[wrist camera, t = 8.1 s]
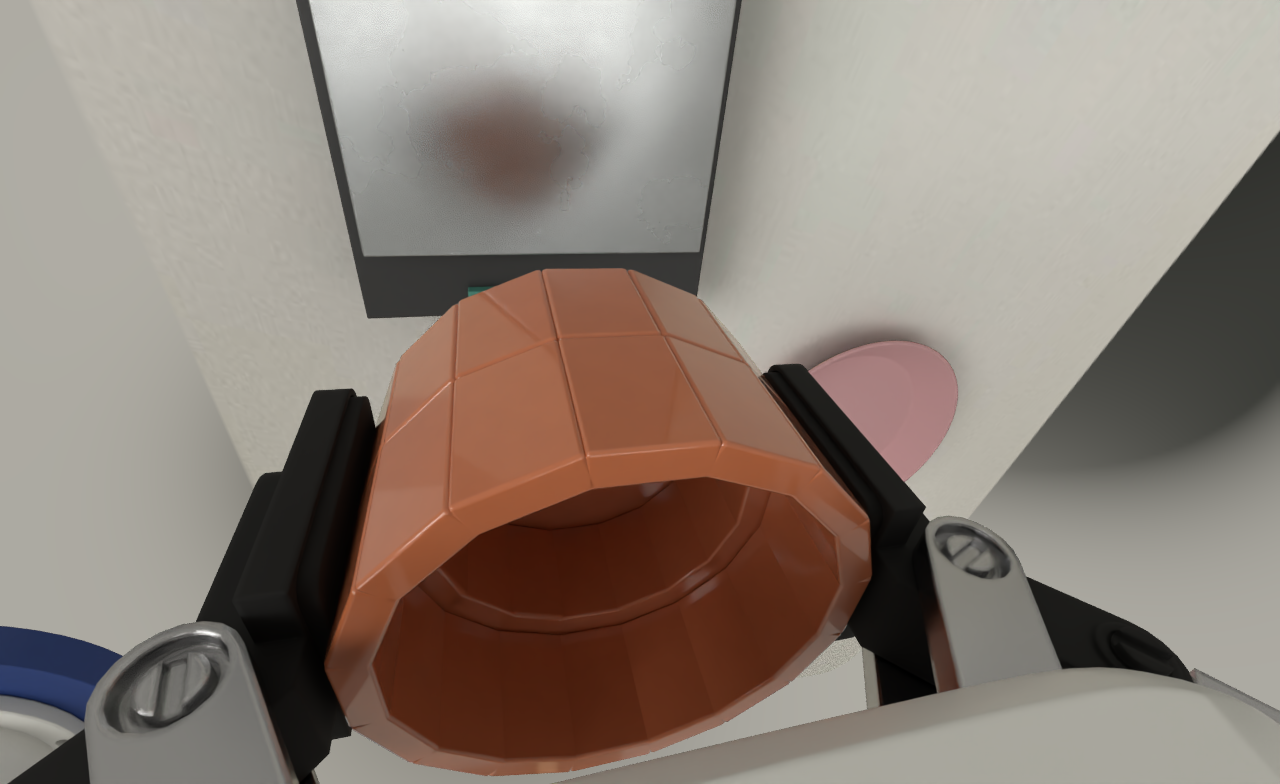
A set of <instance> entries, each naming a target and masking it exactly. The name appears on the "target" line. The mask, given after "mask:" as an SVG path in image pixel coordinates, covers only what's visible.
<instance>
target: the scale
mask: <svg viewBox="0 0 1280 784" xmlns="http://www.w3.org/2000/svg"><path fill="white" fill-rule="evenodd" d="M741 1H742V0H296V3H297V7H298V11H299V16H300V20H301V25H302V29H303V34H304V38H305V42H306V47H307V51H308V56H309V60H310V65H311V69H312V74H313V78H314V82H315V87H316V91H317V96H318V100H319V105H320V109H321V114H322V118H323V122H324V127H325V131H326V136H327V140H328V145H329V149H330V153H331V158H332V162H333V167H334V171H335V176H336V180H337V185H338V189H339V193H340V198H341V202H342V207H343V211H344V216H345V220H346V225H347V229H348V233H349V238H350V242H351V247H352V251H353V256H354V260H355V264H356V269H357V273H358V278H359V282H360V287H361V291H362V296H363V300H364V304H365V309H366V313H367V317H368V318H394V317H420V316H443V315H444V314H445V313H446V312H447V311H448V310H449V309H450V308H451V307H452V306H453V305H455V304H458V302H459V301H461V300H462V299H465V298H467V297H470V296H472V295H475V294H477V293H480V292H482V291H485V290H488V289H490V288H493V287H495V286H498V285H500V284H503V283H505V282H508V281H510V280H513V279H515V278H518V277H520V276H523V275H525V274H528V273H531V272H533V271H536V270H540V271H541V272H542V271H543V270H544V269H598V268H623V269H626V270H627V271H628V270H634V271H637V272H639V273H642V274H644V275H647V276H649V277H652V278H654V279H656V280H659V281H661V282H664V283H666V284H669V285H671V286H674V287H676V288H678V289H681V290H683V291H686V292H688V293H691V294H693V295H695V296H696V297H697V291H698V285H699V278H700V271H701V265H702V258H703V252H704V245H705V239H706V232H707V225H708V219H709V212H710V206H711V199H712V192H713V186H714V179H715V173H716V166H717V159H718V153H719V146H720V140H721V133H722V127H723V120H724V113H725V107H726V100H727V94H728V87H729V80H730V74H731V67H732V61H733V54H734V48H735V41H736V34H737V28H738V21H739V15H740V8H741Z"/></svg>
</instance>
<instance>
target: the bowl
mask: <svg viewBox="0 0 1280 784" xmlns="http://www.w3.org/2000/svg"><path fill="white" fill-rule="evenodd" d="M871 576H872V556H871V534H870V520H869V518H868V515H867V513H866V511H865V510H864V509H863V507H862V506H861V505H860V503H859V502H858V501H857V499H856V498H855V497H854V495H853V494H852V493H851V491H850V490H849V489H848V487H847V486H846V485H845V483H844V482H843V481H842V479H841V478H840V477H839V475H838V474H837V473H836V471H835V470H834V469H833V467H832V466H831V465H830V463H829V462H828V461H827V459H826V458H825V457H824V455H823V454H822V453H821V451H820V450H819V449H818V447H817V446H816V445H815V443H814V442H813V441H812V439H811V438H810V437H809V435H808V434H807V433H806V431H805V430H804V429H803V427H802V426H801V425H800V423H799V422H798V420H797V419H796V418H795V416H794V415H793V414H792V413H791V412H790V410H789V409H788V408H787V406H786V405H785V403H784V402H783V401H782V399H781V398H780V397H779V395H778V394H777V393H776V391H775V390H774V389H773V387H772V386H771V384H770V383H769V382H768V380H767V379H766V378H765V376H764V375H763V374H762V372H761V371H760V370H759V368H758V367H757V366H756V364H755V363H754V362H753V360H752V359H751V358H750V356H749V355H748V354H747V352H746V351H745V350H744V348H743V347H742V346H741V344H740V343H739V342H738V341H737V339H736V338H735V337H734V336H733V335H732V334H731V333H730V331H729V330H728V329H727V328H726V327H725V326H724V325H723V324H722V322H721V321H720V320H719V319H718V318H717V317H716V316H715V314H714V313H713V312H712V311H711V310H710V309H709V308H708V306H707V305H706V304H705V303H704V302H703V301H702V300H701V299H698V298H697V297H696V296H695V295H693V294H691V293H688V292H686V291H683V290H681V289H678V288H676V287H674V286H671V285H669V284H666V283H664V282H661V281H659V280H656V279H654V278H652V277H649V276H647V275H644V274H642V273H639V272H637V271H634V270H628V271H627V270H626V269H623V268H598V269H544V270H543V271H542V272H541V271H540V270H536V271H533V272H531V273H528V274H525V275H523V276H520V277H518V278H515V279H513V280H510V281H508V282H505V283H503V284H500V285H498V286H495V287H493V288H490V289H488V290H485V291H482V292H480V293H477V294H475V295H472V296H470V297H467V298H465V299H462V300H461V301H459V302H458V304H455V305H453V306H452V307H451V308H450V309H449V310H448V311H447V312H446V313H445V314H444V315H443V316H442V317H441V318H440V319H439V320H438V321H437V322H436V323H435V324H434V325H433V326H432V327H430V328H429V329H428V330H427V331H426V332H425V333H424V334H423V335H422V336H421V337H420V338H419V339H418V340H417V341H416V342H415V343H414V344H413V345H412V346H411V347H410V348H409V349H408V350H407V351H406V352H405V353H404V354H403V355H402V356H401V358H400V360H399V361H398V362H397V363H396V366H395V369H394V372H393V375H392V378H391V381H390V384H389V387H388V390H387V393H386V396H385V399H384V402H383V405H382V408H381V411H380V414H379V417H378V420H377V424H376V429H375V433H374V438H373V442H372V447H371V451H370V456H369V460H368V465H367V469H366V474H365V478H364V483H363V488H362V492H361V497H360V501H359V506H358V513H357V516H356V519H355V523H354V528H353V532H352V537H351V541H350V546H349V550H348V555H347V560H346V564H345V569H344V573H343V578H342V582H341V587H340V591H339V596H338V600H337V605H336V609H335V614H334V619H333V623H332V628H331V632H330V637H329V641H328V646H327V650H326V655H325V659H324V664H325V666H324V670H325V673H326V675H327V677H328V680H329V682H330V684H331V686H332V689H333V691H334V693H335V696H336V698H337V700H338V702H339V705H340V707H341V709H342V711H343V714H344V716H345V718H346V721H347V723H348V725H349V726H350V727H352V729H353V730H354V731H355V732H357V733H359V734H361V735H362V736H364V737H366V738H367V739H369V740H371V741H373V742H374V743H377V744H378V745H380V746H381V747H383V748H385V749H387V750H388V751H390V752H392V753H393V754H395V755H397V756H399V757H401V758H402V759H404V760H406V761H407V762H413V763H414V764H418V765H423V766H430V767H435V768H441V769H447V770H453V771H459V772H465V773H471V774H476V775H482V776H488V775H490V776H504V775H521V774H540V773H557V772H569V771H570V770H571V771H576V770H580V769H585V768H589V767H593V766H598V765H602V764H606V763H611V762H615V761H619V760H624V759H628V758H632V757H636V756H641V755H645V754H648V753H650V751H651V752H655V751H657V750H660V749H662V748H665V747H667V746H670V745H672V744H674V743H677V742H680V741H682V740H684V739H687V738H690V737H692V736H695V735H697V734H699V733H702V732H704V731H707V730H709V729H712V728H714V727H717V726H719V725H721V724H723V723H724V722H728V721H729V720H731V719H733V718H734V717H736V716H737V715H739V714H741V713H742V712H744V711H745V710H747V709H749V708H750V707H752V706H754V705H755V704H757V703H759V702H760V701H762V700H763V699H765V698H767V697H768V696H770V695H771V694H773V693H775V692H776V691H778V690H780V689H781V688H783V687H784V686H786V685H787V684H789V683H790V682H791V681H793V680H794V679H795V678H796V677H797V676H798V675H799V674H800V673H802V672H803V671H804V670H805V669H806V668H807V667H808V666H809V665H810V664H811V663H812V662H813V661H814V660H815V659H816V658H817V657H818V656H819V655H820V654H821V653H822V652H823V651H824V650H825V649H827V648H828V647H829V646H830V645H831V644H832V643H833V642H834V641H835V640H836V639H837V638H838V637H839V636H840V635H841V632H843V631H844V630H845V628H846V626H847V624H848V622H849V620H850V618H851V616H852V615H853V613H854V611H855V609H856V607H857V605H858V603H859V601H860V599H861V598H862V596H863V594H864V592H865V590H866V588H867V586H868V584H869V583H870V581H871Z"/></svg>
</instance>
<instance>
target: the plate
mask: <svg viewBox="0 0 1280 784" xmlns="http://www.w3.org/2000/svg"><path fill="white" fill-rule="evenodd" d="M808 372H809V373H810V374H811V375H812V376H813V377H814V379H815V380H816V381H817V382H818V383H819V384H820V386H821V387H822V388H823V389H824V390H825V391H826V392H827V394H828V395H829V396H830V397H831V398H832V399H833V401H834V402H835V403H836V404H837V405H838V406H839V407H840V409H841V410H842V411H843V412H844V413H845V414H846V415H847V417H848V418H849V419H850V420H851V421H852V422H853V424H854V425H855V426H856V427H857V428H858V429H859V430H860V432H861V433H862V434H863V435H864V436H865V437H866V439H867V440H868V441H869V442H870V443H871V444H872V445H873V447H874V448H875V449H876V450H877V451H878V452H879V453H880V455H881V456H882V457H883V458H884V459H885V460H886V462H887V463H888V464H889V465H890V466H891V467H892V468H893V470H894V471H895V472H896V473H897V474H898V475H899V477H900V478H901V479H902V480H903V481H904V482H905V481H906V480H908V479H909V478H910V477H911V476H912V475H913V474H914V473H916V472H917V471H918V470H919V469H920V468H921V467H922V466H923V465H924V463H925V462H926V461H927V460H928V459H929V458H930V457H931V455H932V454H933V453H934V452H935V450H936V449H937V448H938V446H939V445H940V443H941V442H942V440H943V438H944V437H945V435H946V433H947V431H948V429H949V427H950V425H951V422H952V420H953V417H954V414H955V411H956V406H957V400H958V386H957V380H956V376H955V374H954V371H953V369H952V367H951V366H950V364H949V363H948V361H947V360H946V359H945V358H944V357H943V356H942V355H941V354H940V353H938V352H937V351H935V350H933V349H932V348H930V347H927V346H925V345H922V344H919V343H915V342H909V341H882V342H876V343H871V344H866V345H862V346H859V347H856V348H853V349H850V350H847V351H845V352H842V353H840V354H838V355H835V356H833V357H831V358H829V359H827V360H826V361H824V362H822V363H820V364H819V365H817V366H815V367H814V368H812V369H811V370H809V371H808Z"/></svg>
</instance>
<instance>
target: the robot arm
mask: <svg viewBox="0 0 1280 784" xmlns="http://www.w3.org/2000/svg"><path fill="white" fill-rule="evenodd" d="M763 375H764V376H765V378H766V379H767V380H768V382H769V383H770V384H771V386H772V387H773V389H774V390H775V391H776V393H777V394H778V395H779V397H780V398H781V399H782V401H783V402H784V403H785V405H786V406H787V408H788V409H789V410H790V412H791V413H792V414H793V415H794V416H795V418H796V419H797V420H798V422H799V423H800V425H801V426H802V427H803V429H804V430H805V431H806V433H807V434H808V435H809V437H810V438H811V439H812V441H813V442H814V443H815V445H816V446H817V447H818V449H819V450H820V451H821V453H822V454H823V455H824V457H825V458H826V459H827V461H828V462H829V463H830V465H831V466H832V467H833V469H834V470H835V471H836V473H837V474H838V475H839V477H840V478H841V479H842V481H843V482H844V483H845V485H846V486H847V487H848V489H849V490H850V491H851V493H852V494H853V495H854V497H855V498H856V499H857V501H858V502H859V503H860V505H861V506H862V507H863V509H864V510H865V511H866V513H867V515H868V518H869V520H870V534H871V556H872V576H871V581H870V583H869V584H868V586H867V588H866V590H865V592H864V594H863V596H862V598H861V599H860V601H859V603H858V605H857V607H856V609H855V611H854V613H853V615H852V616H851V618H850V620H849V622H848V624H847V626H846V628H845V630H844V631H843V632H841V635H840V636H839V637H838V638H837V639H836V640H835V641H837V640H842V639H847V638H852V637H854V636H855V637H856V639H857V640H858V642H859V644H860V646H861V647H862V655H863V667H864V678H865V690H866V702H867V710H863V711H859V712H854V713H850V714H845V715H841V716H837V717H832V718H828V719H824V720H819V721H815V722H811V723H807V724H802V725H798V726H793V727H789V728H785V729H781V730H776V731H772V732H768V733H764V734H759V735H755V736H751V737H747V738H742V739H738V740H734V741H729V742H725V743H721V744H717V745H713V746H709V747H704V748H700V749H696V750H692V751H687V752H683V753H679V754H674V755H670V756H666V757H662V758H657V759H653V760H650V761H645V762H641V763H636V764H632V765H628V766H623V767H619V768H615V769H611V770H606V771H602V772H599V773H594V774H590V775H586V776H581V777H577V778H573V779H570V780H565V781H561V782H557V783H552V784H1280V711H1279V710H1277V709H1275V708H1273V707H1271V706H1269V705H1267V704H1265V703H1263V702H1261V701H1259V700H1257V699H1255V698H1253V697H1251V696H1249V695H1247V694H1245V693H1243V692H1241V691H1239V690H1237V689H1235V688H1233V687H1231V686H1229V685H1227V684H1225V683H1223V682H1221V681H1219V680H1217V679H1215V678H1213V677H1211V676H1209V675H1207V674H1205V673H1203V672H1201V671H1199V670H1197V669H1195V668H1194V669H1193V670H1192V671H1191V672H1189V671H1188V669H1186V667H1185V666H1184V664H1183V663H1182V662H1181V660H1180V659H1179V658H1178V656H1177V655H1175V654H1174V653H1173V652H1172V651H1171V650H1170V649H1169V648H1168V647H1167V646H1166V645H1165V644H1164V643H1163V642H1162V641H1160V640H1159V639H1157V638H1156V637H1155V636H1153V635H1152V634H1150V633H1149V632H1148V631H1146V630H1144V629H1142V628H1140V627H1138V626H1137V625H1135V624H1132V623H1131V622H1129V621H1127V620H1124V619H1122V618H1120V617H1117V616H1115V615H1113V614H1111V613H1108V612H1106V611H1104V610H1101V609H1099V608H1097V607H1095V606H1092V605H1090V604H1088V603H1085V602H1083V601H1081V600H1079V599H1076V598H1074V597H1072V596H1070V595H1067V594H1065V593H1063V592H1060V591H1058V590H1056V589H1054V588H1051V587H1049V586H1047V585H1044V584H1042V583H1040V582H1038V581H1035V580H1033V579H1031V578H1029V577H1026V576H1025V573H1024V571H1023V568H1022V566H1021V563H1020V561H1019V559H1018V557H1017V556H1016V554H1015V552H1014V550H1013V549H1012V548H1011V547H1010V546H1009V545H1008V544H1007V543H1006V542H1005V541H1004V540H1003V539H1002V538H1001V537H999V536H998V535H997V534H995V533H994V532H993V531H991V530H990V529H988V528H986V527H984V526H982V525H981V524H978V523H977V522H974V521H971V520H968V519H965V518H962V517H954V516H943V517H937V518H935V519H934V520H932V521H929V520H928V519H927V518H926V517H925V515H924V514H923V512H924V510H925V508H926V506H925V505H924V504H923V503H922V502H921V501H920V500H919V498H918V497H917V496H916V495H915V494H914V493H913V491H912V490H911V489H910V488H909V487H908V486H907V485H906V483H905V482H904V481H903V480H902V479H901V478H900V477H899V475H898V474H897V473H896V472H895V471H894V470H893V468H892V467H891V466H890V465H889V464H888V463H887V462H886V460H885V459H884V458H883V457H882V456H881V455H880V453H879V452H878V451H877V450H876V449H875V448H874V447H873V445H872V444H871V443H870V442H869V441H868V440H867V439H866V437H865V436H864V435H863V434H862V433H861V432H860V430H859V429H858V428H857V427H856V426H855V425H854V424H853V422H852V421H851V420H850V419H849V418H848V417H847V415H846V414H845V413H844V412H843V411H842V410H841V409H840V407H839V406H838V405H837V404H836V403H835V402H834V401H833V399H832V398H831V397H830V396H829V395H828V394H827V392H826V391H825V390H824V389H823V388H822V387H821V386H820V384H819V383H818V382H817V381H816V380H815V379H814V377H813V376H812V375H811V374H810V373H809V372H808V371H807V369H806V368H805V367H804V366H803V365H801V364H784V365H773V366H771V367H770V369H769V370H768V373H763ZM375 429H376V428H375V423H374V419H373V415H372V410H371V406H370V402H369V399H368V397H366V396H362V397H357V395H356V393H355V391H354V390H353V389H335V390H317V391H315V392H314V393H313V395H312V397H311V400H310V402H309V405H308V407H307V410H306V412H305V415H304V418H303V420H302V423H301V425H300V428H299V430H298V433H297V435H296V438H295V441H294V443H293V446H292V448H291V451H290V453H289V456H288V458H287V461H286V463H285V466H284V469H283V471H282V472H272V473H265V474H263V475H262V476H261V477H260V478H259V480H258V481H257V483H256V485H255V487H254V489H253V492H252V494H251V496H250V499H249V501H248V503H247V505H246V508H245V510H244V512H243V515H242V517H241V519H240V522H239V524H238V526H237V528H236V531H235V533H234V535H233V537H232V540H231V542H230V544H229V547H228V549H227V551H226V554H225V556H224V558H223V561H222V563H221V565H220V567H219V570H218V572H217V574H216V577H215V579H214V581H213V584H212V586H211V588H210V591H209V593H208V595H207V597H206V599H205V602H204V604H203V606H202V609H201V611H200V613H199V616H198V618H197V620H196V622H195V623H189V624H182V625H179V626H177V627H174V628H171V629H168V630H165V631H163V632H160V633H158V634H156V635H154V636H153V637H151V638H149V639H147V640H146V641H144V642H142V643H140V644H138V645H137V646H135V647H134V648H133V649H132V650H131V651H129V652H128V653H127V654H125V655H124V656H123V657H122V658H120V659H119V660H118V661H117V662H115V663H114V664H113V665H112V667H111V668H110V669H109V670H108V671H107V672H106V674H105V675H104V676H103V677H102V678H101V679H100V681H99V682H98V683H97V685H96V687H95V689H94V690H93V692H92V694H91V696H90V698H89V700H88V702H87V705H86V712H85V720H84V722H83V721H82V720H80V719H79V718H77V717H76V716H74V715H73V714H71V713H68V712H66V711H64V710H62V709H59V708H57V707H55V706H51V705H48V704H45V703H41V702H38V701H35V700H30V699H25V698H20V697H15V696H9V695H0V784H319V781H318V778H317V776H316V773H315V771H314V768H315V767H316V766H317V765H318V764H319V763H320V762H321V761H322V760H323V759H324V758H325V757H326V756H327V755H328V754H329V752H330V746H331V741H332V740H333V739H338V738H343V737H348V736H351V730H352V727H350V726H349V725H348V723H347V721H346V718H345V716H344V714H343V711H342V709H341V707H340V705H339V702H338V700H337V698H336V696H335V693H334V691H333V689H332V686H331V684H330V682H329V680H328V677H327V675H326V673H325V670H324V666H325V664H324V659H325V655H326V650H327V646H328V641H329V637H330V632H331V628H332V623H333V619H334V614H335V609H336V605H337V600H338V596H339V591H340V587H341V582H342V578H343V573H344V569H345V564H346V560H347V555H348V550H349V546H350V541H351V537H352V532H353V528H354V523H355V519H356V516H357V513H358V506H359V501H360V497H361V492H362V488H363V483H364V478H365V474H366V469H367V465H368V460H369V456H370V451H371V447H372V442H373V438H374V433H375Z"/></svg>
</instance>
